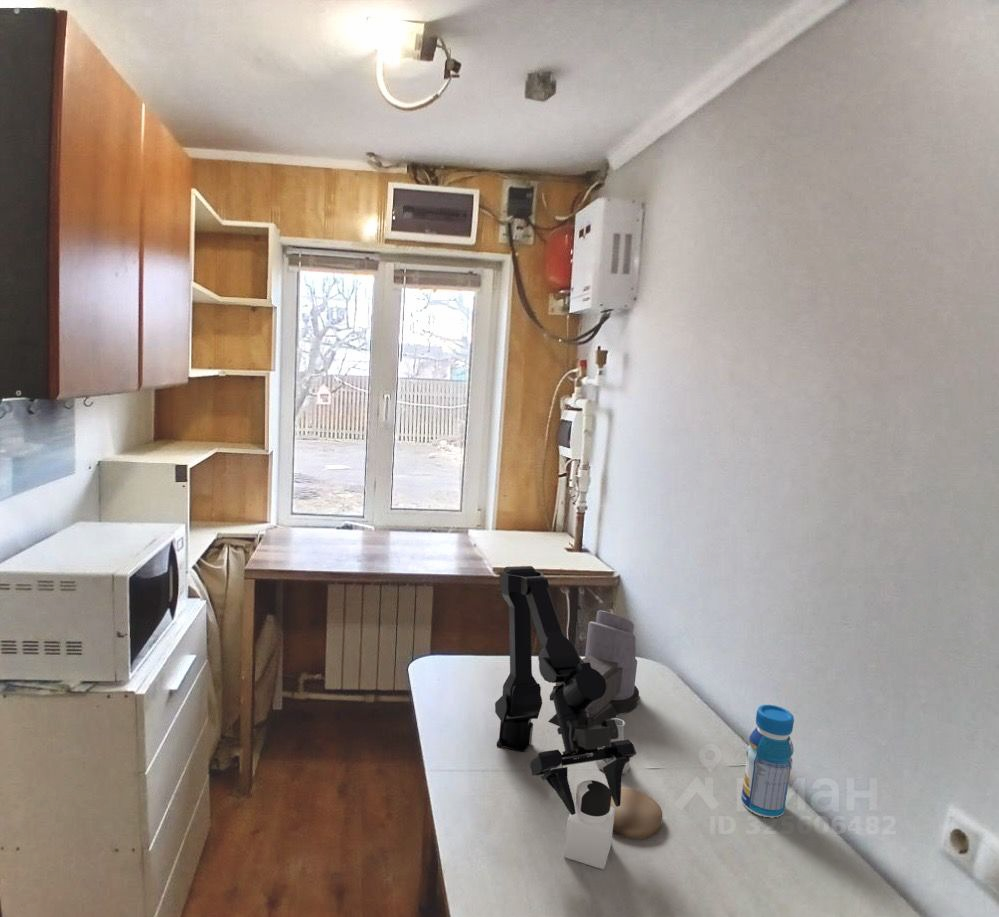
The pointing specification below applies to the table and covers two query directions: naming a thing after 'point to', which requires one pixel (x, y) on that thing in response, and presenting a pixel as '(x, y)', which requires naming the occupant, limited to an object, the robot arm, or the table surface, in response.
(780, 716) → the beverage bottle
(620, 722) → the flask
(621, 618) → the juicer
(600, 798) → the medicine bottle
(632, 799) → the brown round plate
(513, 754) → the table surface
